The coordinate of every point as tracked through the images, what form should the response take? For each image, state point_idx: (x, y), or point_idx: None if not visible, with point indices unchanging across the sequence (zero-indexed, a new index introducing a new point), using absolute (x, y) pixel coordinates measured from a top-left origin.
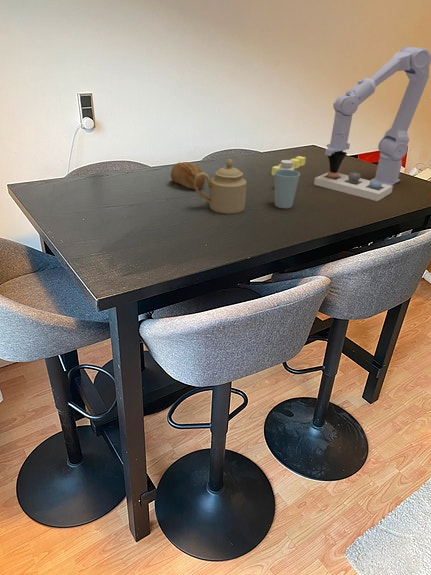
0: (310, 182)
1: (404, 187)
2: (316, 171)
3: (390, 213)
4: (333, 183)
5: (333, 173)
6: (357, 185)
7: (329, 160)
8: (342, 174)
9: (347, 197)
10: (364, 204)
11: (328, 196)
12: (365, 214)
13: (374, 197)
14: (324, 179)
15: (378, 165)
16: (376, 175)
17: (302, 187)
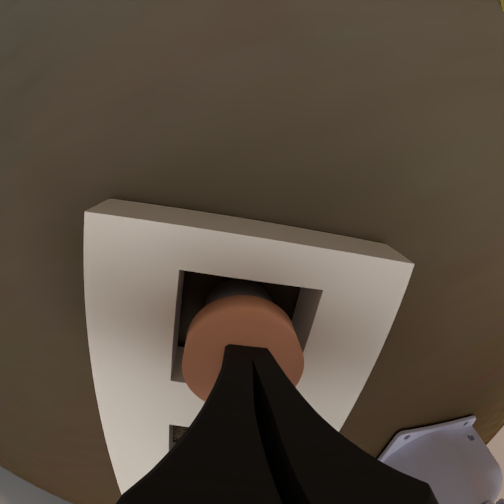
0: (152, 147)
1: None
2: (476, 109)
3: (72, 498)
4: (95, 376)
5: (192, 382)
6: None
7: (184, 437)
8: (360, 370)
9: (69, 422)
10: (64, 463)
11: (6, 351)
12: (6, 454)
13: None
14: (104, 306)
15: (437, 492)
16: (414, 459)
17: (9, 160)
